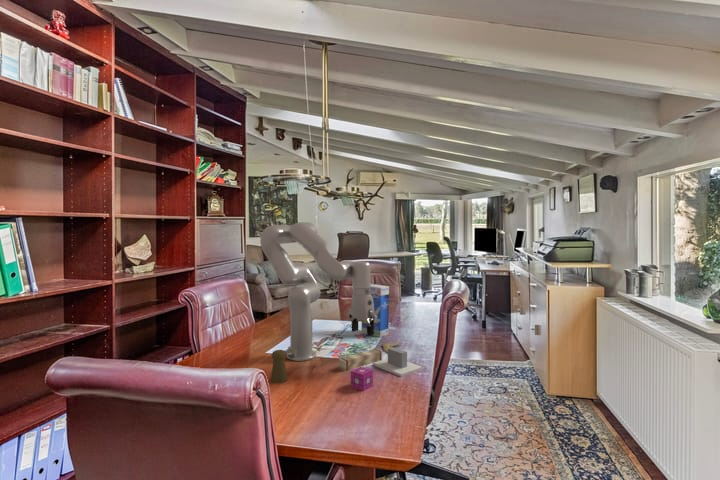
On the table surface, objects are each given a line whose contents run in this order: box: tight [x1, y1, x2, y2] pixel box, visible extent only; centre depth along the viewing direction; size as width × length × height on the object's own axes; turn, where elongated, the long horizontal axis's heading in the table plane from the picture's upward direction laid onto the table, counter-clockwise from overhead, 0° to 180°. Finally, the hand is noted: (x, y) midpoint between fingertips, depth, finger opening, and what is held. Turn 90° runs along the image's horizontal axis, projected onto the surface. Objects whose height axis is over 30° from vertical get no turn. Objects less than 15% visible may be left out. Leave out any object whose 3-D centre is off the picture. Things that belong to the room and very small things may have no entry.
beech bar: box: [338, 348, 383, 372], centre depth 160 cm, size 20×4×4 cm, turn 130°
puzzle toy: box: [350, 366, 374, 392], centre depth 138 cm, size 6×6×6 cm
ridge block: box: [372, 346, 423, 377], centre depth 156 cm, size 12×16×7 cm
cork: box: [270, 349, 288, 384], centre depth 143 cm, size 6×6×11 cm
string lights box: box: [361, 283, 390, 338], centre depth 205 cm, size 13×8×26 cm, turn 49°
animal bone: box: [381, 341, 403, 354], centre depth 175 cm, size 21×2×10 cm
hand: (362, 333), depth 159 cm, fingers open, 9 cm apart
